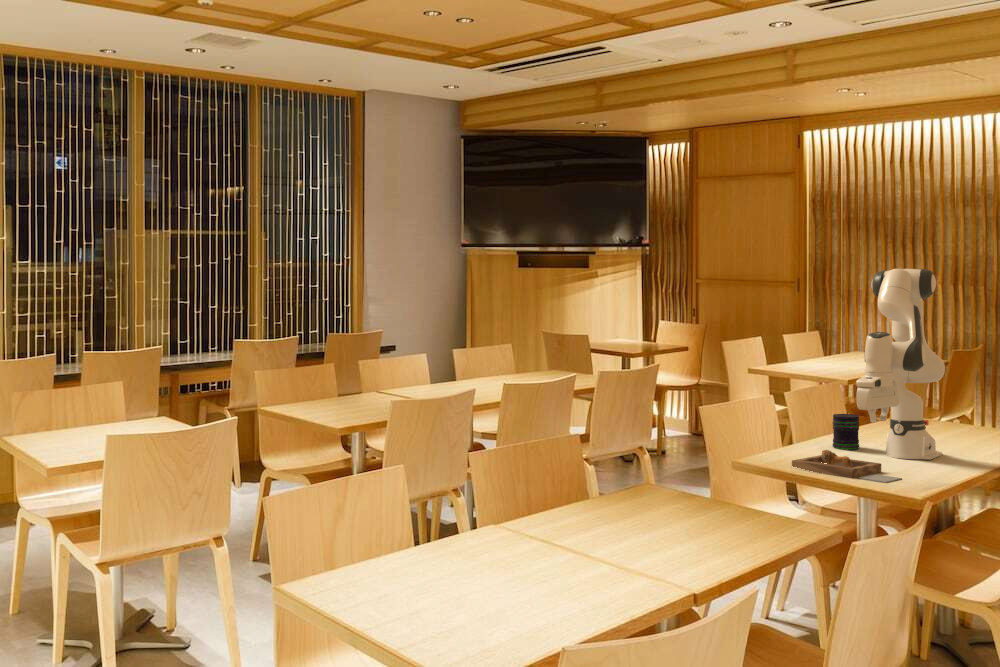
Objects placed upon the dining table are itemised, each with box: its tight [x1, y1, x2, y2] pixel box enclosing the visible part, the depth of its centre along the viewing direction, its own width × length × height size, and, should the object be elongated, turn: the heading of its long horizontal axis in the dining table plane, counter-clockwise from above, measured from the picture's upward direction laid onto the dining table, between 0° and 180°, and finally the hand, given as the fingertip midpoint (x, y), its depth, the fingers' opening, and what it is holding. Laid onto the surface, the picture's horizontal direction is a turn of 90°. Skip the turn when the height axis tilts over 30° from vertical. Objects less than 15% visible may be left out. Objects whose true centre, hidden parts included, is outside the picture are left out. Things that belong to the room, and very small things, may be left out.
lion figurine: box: [821, 449, 853, 468], centre depth 338 cm, size 12×4×7 cm, turn 60°
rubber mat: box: [857, 473, 903, 484], centre depth 322 cm, size 10×10×1 cm
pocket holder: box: [791, 454, 882, 479], centre depth 339 cm, size 18×24×3 cm
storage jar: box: [832, 413, 860, 451], centre depth 376 cm, size 10×10×15 cm
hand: (878, 421), depth 322 cm, fingers open, 4 cm apart
